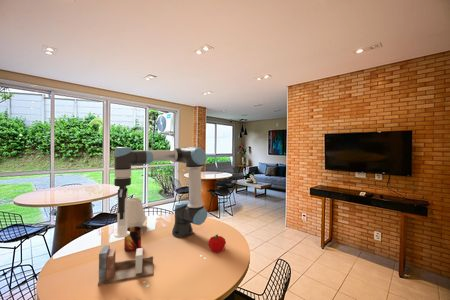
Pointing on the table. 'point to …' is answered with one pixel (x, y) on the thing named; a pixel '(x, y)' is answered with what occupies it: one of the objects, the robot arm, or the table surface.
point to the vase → (135, 213)
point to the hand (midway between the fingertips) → (122, 223)
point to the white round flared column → (123, 229)
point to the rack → (120, 267)
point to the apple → (217, 243)
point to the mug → (133, 239)
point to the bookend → (139, 260)
